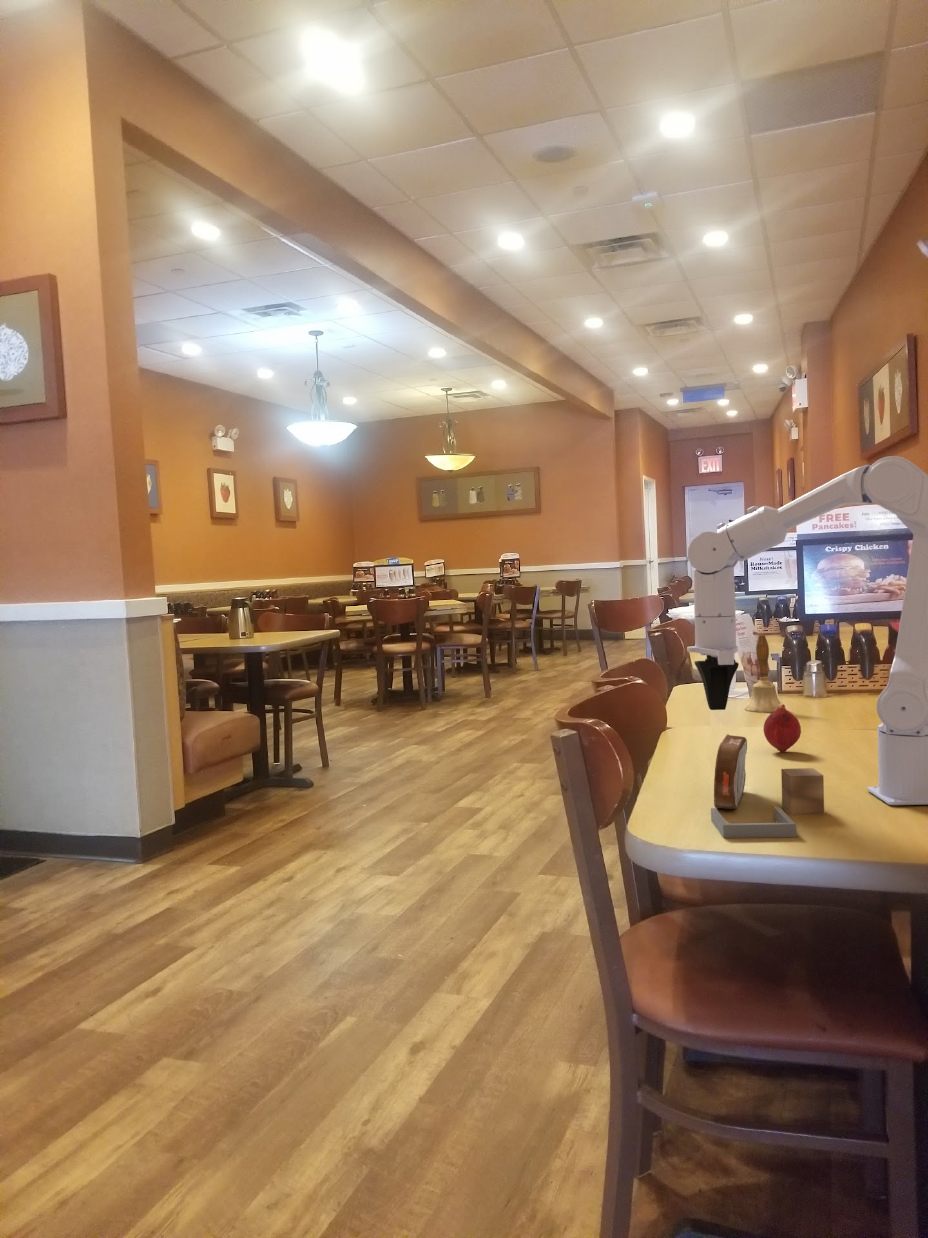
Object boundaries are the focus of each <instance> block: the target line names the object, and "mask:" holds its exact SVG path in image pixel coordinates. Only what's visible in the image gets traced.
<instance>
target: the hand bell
mask: <svg viewBox="0 0 928 1238" xmlns="http://www.w3.org/2000/svg"><path fill="white" fill-rule="evenodd" d="M755 652H756V653H755V654H756V657H757V658H756V659H757V661H758V665H759V668H758V669H759V670H758V671H759V672H758V673H759V681H757V682H756V683H754V684H753V685H752V694H751V697H750V700H749V701H748V703H747V704H746V705H745V706H744V710H745V711H747V712H750V713H761V714H763V713H764V714H766V713H767V714H768V713H769V714H771V713H773V712H774V711H776V710H777V708H778V706H779V704H782V703H781V701H780V699H779V697H778V693H777V689H776V685H775V684H774V683H773V682H771V681H770V680H769V675H768V661H769V656H770V648H769V643H768V640H767V637H766V635H765V634H758V638H757V642H756V646H755Z"/></svg>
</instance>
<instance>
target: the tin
mask: <svg viewBox="0 0 928 1238" xmlns="http://www.w3.org/2000/svg"><path fill="white" fill-rule="evenodd" d="M747 750H748V740H747V738H746V737H745V736H739V735H732V734H731V735H730V734H729V733H727V734H726V735H725V736H724V738H723V739H722V741H721V742H720V744H719V746H718V749H717V753H716V758H715V766H714V767H715V769H714V779H713V805H714V808H716V809H718V808H719V809H727V810H736V809H737V808H738V806H739V804H740V801H741V800H742V797H743V795H744V792H745V791H744V790H745V785H746V774H747V773H746V754H747Z"/></svg>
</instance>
